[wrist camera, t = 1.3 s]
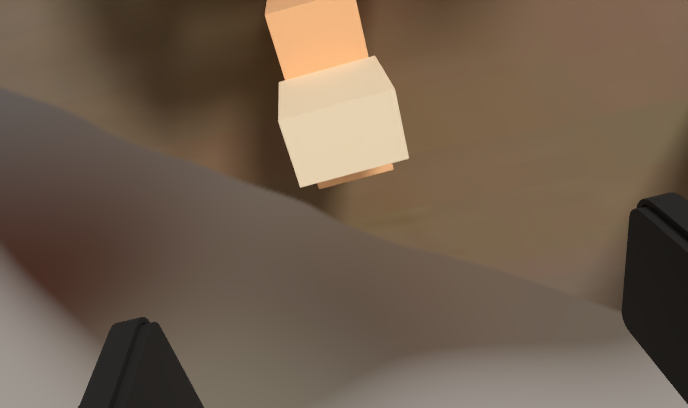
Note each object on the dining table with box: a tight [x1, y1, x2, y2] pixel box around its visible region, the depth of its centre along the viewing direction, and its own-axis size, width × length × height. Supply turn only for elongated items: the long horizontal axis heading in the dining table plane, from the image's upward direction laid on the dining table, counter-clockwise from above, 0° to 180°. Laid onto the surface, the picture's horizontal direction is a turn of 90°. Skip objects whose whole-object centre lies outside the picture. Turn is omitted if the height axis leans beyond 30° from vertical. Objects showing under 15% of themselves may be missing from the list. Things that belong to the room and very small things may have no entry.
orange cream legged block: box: [265, 0, 409, 189], centre depth 28 cm, size 9×5×17 cm, turn 14°
